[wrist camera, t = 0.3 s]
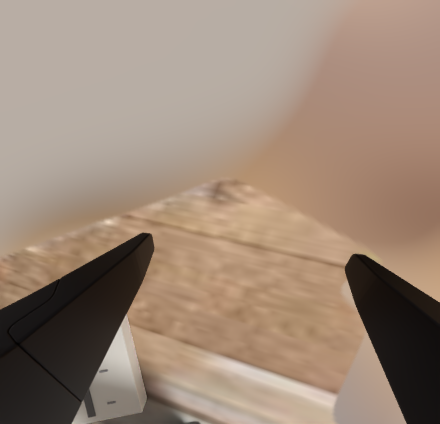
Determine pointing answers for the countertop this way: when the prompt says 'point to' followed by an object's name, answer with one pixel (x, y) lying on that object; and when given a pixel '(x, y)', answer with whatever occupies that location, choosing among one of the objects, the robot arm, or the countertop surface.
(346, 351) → the countertop surface
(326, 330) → the countertop surface
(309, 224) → the countertop surface
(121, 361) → the panel
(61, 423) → the robot arm
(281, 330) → the countertop surface
